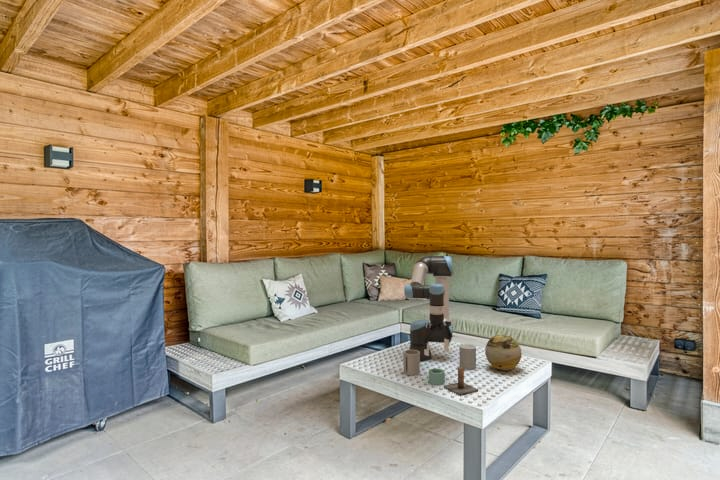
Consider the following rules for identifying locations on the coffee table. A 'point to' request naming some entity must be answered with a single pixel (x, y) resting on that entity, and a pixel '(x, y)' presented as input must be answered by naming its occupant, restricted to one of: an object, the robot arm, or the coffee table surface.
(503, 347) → the decorative sphere
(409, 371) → the cup
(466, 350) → the beige speckled cylinder
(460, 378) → the post stand
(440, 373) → the collar
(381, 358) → the coffee table surface
